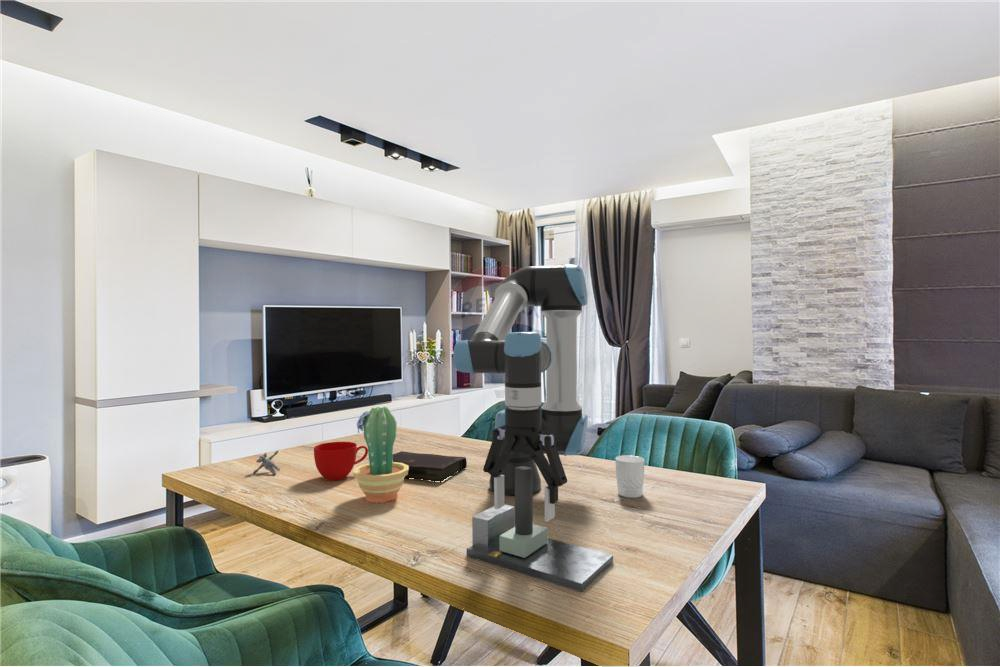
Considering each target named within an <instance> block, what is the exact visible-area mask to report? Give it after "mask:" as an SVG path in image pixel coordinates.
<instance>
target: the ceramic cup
mask: <svg viewBox="0 0 1000 667" xmlns="http://www.w3.org/2000/svg"><path fill="white" fill-rule="evenodd" d="M362 449H364V450H365V452H364V454H363V456H362V457H361V458H359V459H358V460H357V453H358V451H360V450H362ZM367 456H368V446H367V445H366V446H365V445H359V446H358V445H357V443H355V442H352V441H332V442H324V443H320V444H317V445H315V446H314V447H313V458H314V464H315V467H316V469H317V472H318V473H319V474H320V475H321V476H322V478H324V480H326V481H340V480H341V481H342V480H344V479H346V478H347V477H348V475H349V474H350V473H351V472H352V471H353V470H354V468H355V467H354V466H355V465H357V464H359V463H361V462H362V461H364V460H365V459H366V458H367Z"/></svg>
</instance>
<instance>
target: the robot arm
mask: <svg viewBox="0 0 1000 667" xmlns="http://www.w3.org/2000/svg"><path fill="white" fill-rule="evenodd" d="M586 283H587V282H586V279H585V274H584V272H583V269H582V267H581V266H580V265H577V264H554V265H552V264H551V265H535V266H534V265H532V266H525V267H522V268H519V269H518V270H515V271H514V272H512V273H510V274H509V275H508V276H506V277H505V278H504V279H503V280H502V281H501V282H500V283H499V284H498V286H497V287H496V288H495V291H494V297H493V298H494V300H493V302H492V303H491V305H490V307H489V308H488V310H487V312H486V314H485V316H484V317H483V319H482V320H481V323H480V324H479V325H478V327H477V329H476V330H475V332H474V334H473V336H472V337H471V339H469V340H468V339H465V340H458V341H457V342H456V343H455V345H454V347H453V353H452V354H453V355H452V358H453V364H454V368H455V369H456V370H457V371H458V372H460V373H466V374H467V373H468V374H469V373H470V374H504V405H505V406H506V408H505V409H502V410H500V411H498V412H497V413H496V415H495V419H494V420H495V422H494V429H493V430H492V441H491V444H490V448H489V450H488V453H487V456H486V459H485V462H484V465H483V469H482V470H483V473H487V474H489V475H490V477H489V483H488V484H489V489H490V490H491V491H492V492H493V500H494V501H493V502H494V504H493V506H494V509H499V508H501V507H503V506H504V504H505V495H507V496H515V468H516V467H521V466H526V467H531V468H532V494H534V493H537V492H539V491H540V490H541V489H542V479H541V477H540V474H541V476H542V477H543V480H544V481H545V483H546V484H547V486H545V487H544V521H545V522H549V521H551V520H552V519H554V518H555V516H556V514H555V513H556V510H555V506H556V504H557V503H558V501H559V487H561V486H564V485H565V484H567V483H568V478H567V476H566V471H565V468H564V467H563V464H562V460H561V458H560V456H564V457H567V456H579V455H580V454H581V453H583V450H584V446H585V442H586V439H587V432H588V415H587V414H586V413H583V407H582V406H581V405H580V404H579V403H578V401H577V397H578V396H577V394H578V393H577V389H578V388H577V380H578V379H577V320H578V319H577V318H578V317H579V316H580V314H581V313H582V312H583V307H585V306H586V305H587V304H588V291H587V284H586ZM526 307H540V313H541V314H542V316H544V317H545V319H546V320H545V322H546V323H545V324H546V325H545V328H546V329H545V330H546V333H545V334H546V342H545V341H543V340H542V338H541V334H540V333H539V332H537V331H518V332H517V331H516V332H515V331H514V332H512V331H511V329H512V328H513V325H514V324H515V322H516V319H517V317H518V315H519V313H521V312H522V311H524V310H525V308H526ZM544 372H546V374H545V375H546V376H545V377H546V380H545V381H546V390H545V391H546V393H545V394H546V397H545V398H546V401H545V403H544V404H542V373H544ZM540 406H541V407H540ZM545 455H546V456H547V457H546V456H545Z"/></svg>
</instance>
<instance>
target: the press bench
mask: <svg viewBox="0 0 1000 667" xmlns="http://www.w3.org/2000/svg"><path fill="white" fill-rule="evenodd" d="M471 520H472V521H471V522H472V523H471V526H472V527H471V528H472V529H471V530H472V531H471V532H472V539H471V540H472V545H471V546H469V547H467V548H466V549H465V550H466V551H465V552H466V557H468V558H471V559H475V560H479V561H481V562H484V563H487V562H488V564H490V563H491V564H492V565H494V566H498V567H501V568H504V569H506V568H507V570H511V571H513V572H517V573H520V574H523V575H525V576H529V577H533V578H536V579H537V580H541V579H542V581H545V582H549V583H551V584H554V585H557V586H562V587H564V588H568V589H571V590H574V591H577V592H580V593H583V592H584V591H585V590H586V589H587V588H588V587H589V586H591V584H593V582H594V581H595V580H597V579H598V577H600V576H601V575H602V574H603V573H604V572H605V571H606V570H607V569H609V567H610V566H611V565H612V564H614V555H613V554H610V553H606V552H603V551H599V550H596V549H591V548H587V547H584V546H579V545H576V544H572V543H569V542H564V541H559V540H556V539H553V538H549V537H548V542H547V543H546V544H544V545H543V546H541V547H540V548H538V549H537V550H536V551H534V552H533V553H531V554H530V555H528V556H527V557H525V558H523V557H520V556H516V555H513V554H510V553H506V552H503V551H500V550H499V536H500V535H502V534H503V533H505V532H507V531H509V530H510V529H512V528H514V527H515V505H514V506H513V505H509V504H505V503H504V506H503V507H501V508H499V509H494V505H493V506H492V507H489V508H487V509H485V510H483V511H481V512H479V513H477V514H475V515H473V516H471ZM491 564H490V565H491Z"/></svg>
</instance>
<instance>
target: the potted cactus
mask: <svg viewBox="0 0 1000 667" xmlns="http://www.w3.org/2000/svg"><path fill="white" fill-rule="evenodd" d="M356 428H357V434H360V431H361V432H363V438H364V440H365V443H366V447H367V449H368V454H367V456H368V462H369V463H364V464H361V465H358V466H356V467H353V470H352V474H353V478H355V479H356V481H357V484H358V485H359V488H360V490H361V491H362V492H363V494H364V495H365V499H364V500H365V501H367V502H368V501H369V503H375V502H376V503H378V502H380V503H388V502H392V501H394V500H396V499H397V497H399V495H398V492H399V491H400V490H401V488H402V486H403V484H404V481H405V479H404V478H405V476H406V475H408V470H409V466H408V465H406V464H403V463H398V462H393V454H394V444H395V442H396V441H395V440H396V437H397V420H396V418H395V416H394V415H393V413H392V412H391V410H390V409H389V408H388V407H387V406H383V407H381V406H376V407H372V408H371V409H370V410H368V411H364V412H362V414H361V415H360V416H359V418H358V420H357V422H356ZM395 498H396V499H395ZM391 500H392V501H391ZM387 501H388V502H387ZM376 503H375V504H376ZM378 504H379V503H378Z"/></svg>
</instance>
